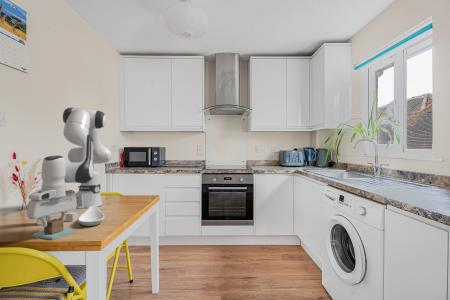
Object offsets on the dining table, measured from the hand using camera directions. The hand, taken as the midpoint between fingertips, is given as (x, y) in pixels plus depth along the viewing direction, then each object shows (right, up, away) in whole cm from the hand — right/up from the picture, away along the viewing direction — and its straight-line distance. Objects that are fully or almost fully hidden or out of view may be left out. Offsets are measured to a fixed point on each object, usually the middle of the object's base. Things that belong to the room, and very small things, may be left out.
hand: (53, 224), depth 111 cm
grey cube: (-6, -5, +22) cm, 23 cm away
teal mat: (0, -5, 0) cm, 5 cm away
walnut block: (0, -4, 0) cm, 4 cm away
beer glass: (-16, -5, +16) cm, 24 cm away
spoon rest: (+6, -5, +20) cm, 22 cm away
